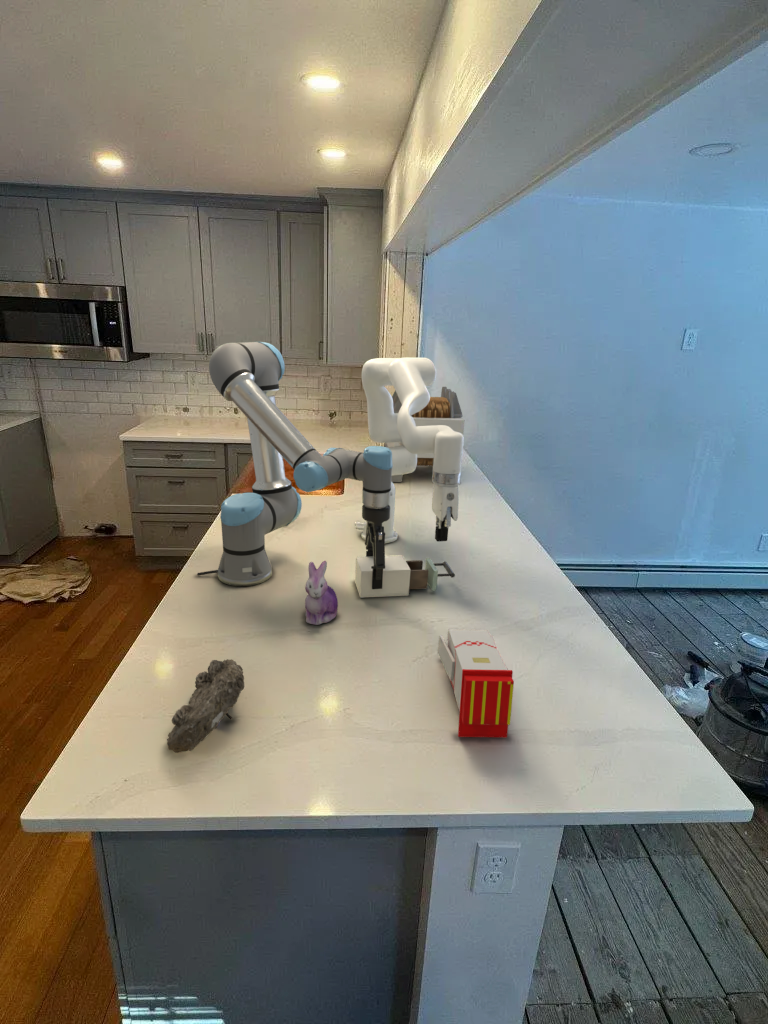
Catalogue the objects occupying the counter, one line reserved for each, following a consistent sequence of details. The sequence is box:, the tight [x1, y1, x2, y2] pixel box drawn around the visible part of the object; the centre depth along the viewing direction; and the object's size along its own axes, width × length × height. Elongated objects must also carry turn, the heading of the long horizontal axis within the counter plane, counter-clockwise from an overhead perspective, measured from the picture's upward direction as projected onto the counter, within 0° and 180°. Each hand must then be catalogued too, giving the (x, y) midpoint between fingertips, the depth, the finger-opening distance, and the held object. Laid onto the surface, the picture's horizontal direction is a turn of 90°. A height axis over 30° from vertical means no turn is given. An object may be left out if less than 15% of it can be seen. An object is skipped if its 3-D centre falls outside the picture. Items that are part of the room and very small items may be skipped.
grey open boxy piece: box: [383, 386, 465, 483], centre depth 268 cm, size 34×33×41 cm
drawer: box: [406, 557, 456, 591], centre depth 161 cm, size 18×8×6 cm, turn 101°
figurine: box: [304, 560, 339, 626], centre depth 142 cm, size 9×10×15 cm
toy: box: [437, 628, 515, 738], centre depth 117 cm, size 12×13×30 cm
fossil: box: [166, 658, 245, 754], centre depth 106 cm, size 22×10×15 cm
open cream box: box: [354, 554, 411, 599], centre depth 159 cm, size 14×10×8 cm
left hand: (373, 579), depth 159 cm, fingers closed on open cream box, 10 cm apart
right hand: (441, 540), depth 159 cm, fingers closed
